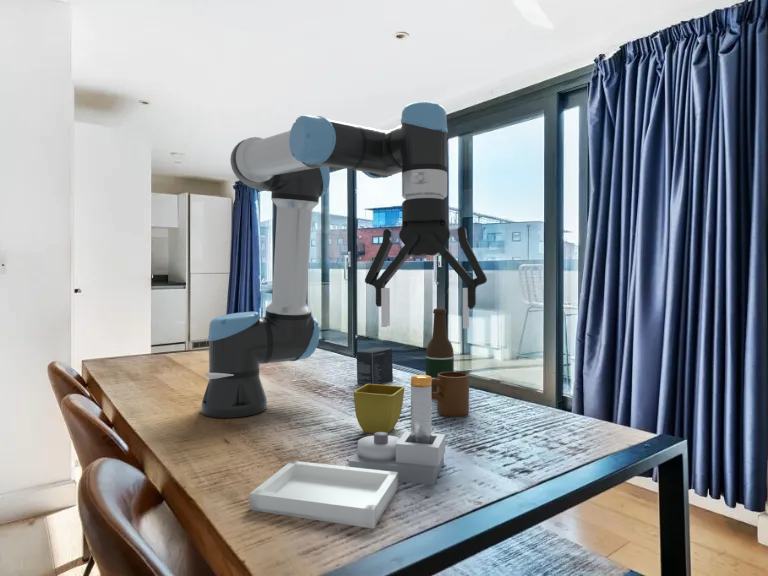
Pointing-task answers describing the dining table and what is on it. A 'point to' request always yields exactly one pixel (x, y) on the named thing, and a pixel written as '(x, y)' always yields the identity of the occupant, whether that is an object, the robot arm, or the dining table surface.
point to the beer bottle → (439, 348)
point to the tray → (327, 493)
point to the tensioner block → (401, 456)
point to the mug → (451, 393)
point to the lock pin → (421, 409)
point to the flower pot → (378, 407)
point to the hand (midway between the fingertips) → (424, 327)
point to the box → (374, 366)
